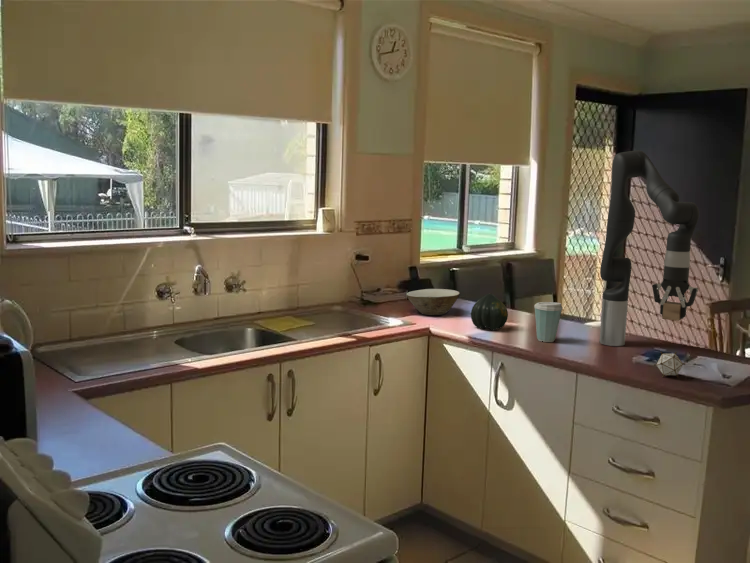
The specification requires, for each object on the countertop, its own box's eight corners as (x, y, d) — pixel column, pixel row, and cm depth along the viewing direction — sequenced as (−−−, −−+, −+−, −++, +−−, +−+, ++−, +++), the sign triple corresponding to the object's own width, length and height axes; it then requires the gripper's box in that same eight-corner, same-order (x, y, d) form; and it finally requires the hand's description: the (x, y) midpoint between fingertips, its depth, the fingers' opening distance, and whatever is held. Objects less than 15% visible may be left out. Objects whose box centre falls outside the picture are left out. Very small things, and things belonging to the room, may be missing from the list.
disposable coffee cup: (526, 339, 287) (528, 301, 284) (543, 335, 293) (545, 298, 291) (549, 345, 279) (551, 306, 276) (566, 341, 285) (568, 303, 283)
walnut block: (666, 316, 241) (667, 301, 240) (682, 318, 238) (683, 303, 238) (662, 318, 237) (663, 303, 236) (678, 320, 234) (680, 305, 234)
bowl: (396, 310, 338) (397, 288, 336) (442, 306, 348) (442, 285, 346) (421, 320, 317) (422, 297, 315) (468, 316, 327) (469, 294, 325)
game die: (668, 385, 243) (682, 359, 245) (680, 384, 235) (694, 357, 237) (645, 371, 244) (659, 345, 246) (655, 369, 236) (670, 342, 238)
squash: (486, 321, 292) (503, 290, 297) (459, 316, 304) (476, 286, 308) (503, 341, 300) (520, 311, 305) (476, 335, 312) (492, 306, 316)
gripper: (703, 265, 234) (698, 318, 237) (656, 261, 242) (652, 312, 245) (698, 268, 228) (693, 322, 231) (650, 264, 236) (646, 316, 239)
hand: (672, 317), depth 238 cm, fingers closed on walnut block, 5 cm apart
